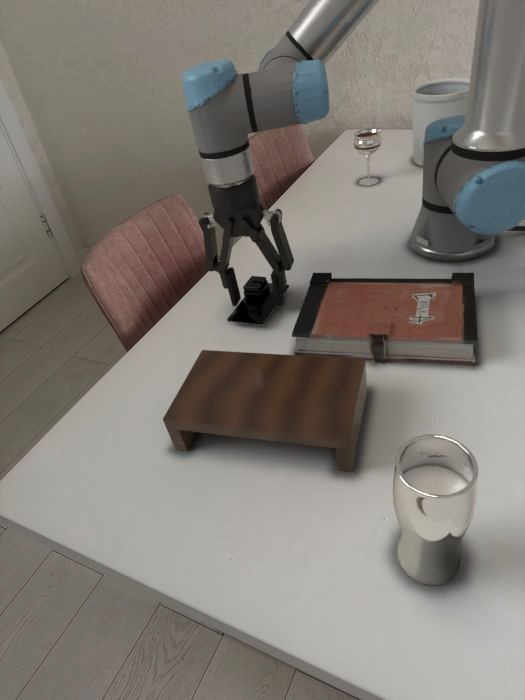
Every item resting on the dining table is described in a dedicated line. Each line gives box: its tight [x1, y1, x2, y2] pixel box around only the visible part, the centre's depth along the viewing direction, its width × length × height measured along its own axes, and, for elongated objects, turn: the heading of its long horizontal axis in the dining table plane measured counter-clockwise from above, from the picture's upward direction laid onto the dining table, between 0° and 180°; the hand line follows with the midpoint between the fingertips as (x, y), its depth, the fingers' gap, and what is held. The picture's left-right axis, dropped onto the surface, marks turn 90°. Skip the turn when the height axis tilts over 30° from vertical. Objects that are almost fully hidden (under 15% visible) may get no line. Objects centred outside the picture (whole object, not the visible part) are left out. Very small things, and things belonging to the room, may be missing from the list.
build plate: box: [226, 275, 291, 327], centre depth 89 cm, size 12×7×5 cm, turn 156°
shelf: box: [162, 349, 368, 473], centre depth 67 cm, size 24×14×6 cm, turn 74°
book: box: [291, 272, 479, 366], centre depth 79 cm, size 26×18×5 cm
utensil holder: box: [411, 77, 470, 167], centre depth 126 cm, size 15×15×18 cm
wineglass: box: [353, 127, 383, 186], centre depth 124 cm, size 7×7×12 cm
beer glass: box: [392, 433, 479, 586], centre depth 46 cm, size 7×7×15 cm
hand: (258, 302), depth 90 cm, fingers closed on build plate, 8 cm apart
